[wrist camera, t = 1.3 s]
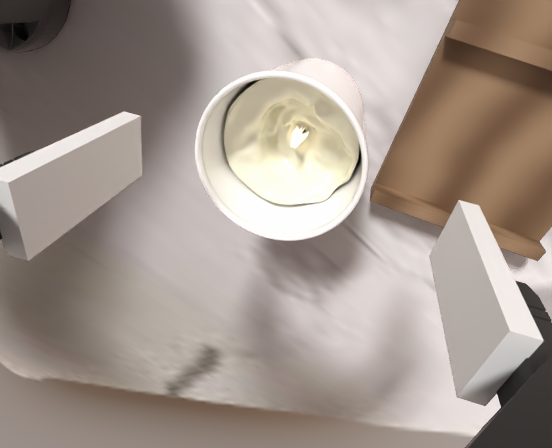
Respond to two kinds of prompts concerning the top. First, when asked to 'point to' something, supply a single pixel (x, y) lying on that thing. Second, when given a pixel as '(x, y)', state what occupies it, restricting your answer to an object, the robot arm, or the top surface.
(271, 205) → the candle holder
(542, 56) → the brown wooden flat tray
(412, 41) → the top surface
